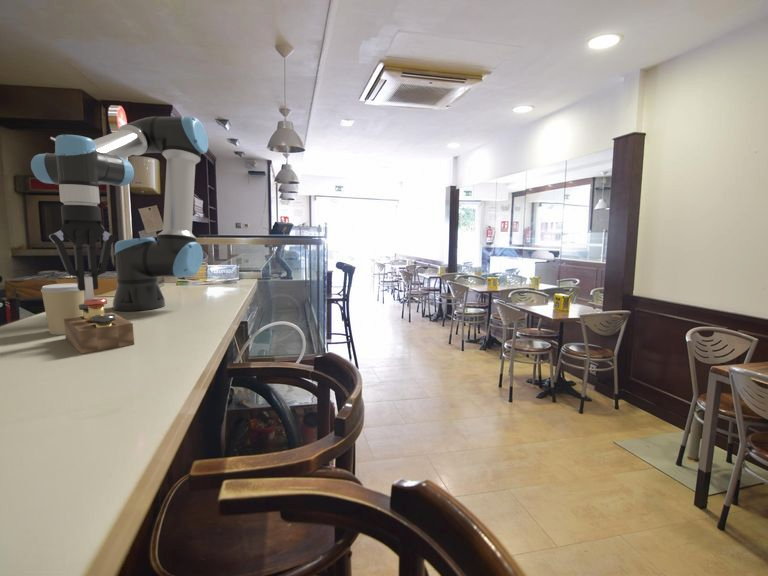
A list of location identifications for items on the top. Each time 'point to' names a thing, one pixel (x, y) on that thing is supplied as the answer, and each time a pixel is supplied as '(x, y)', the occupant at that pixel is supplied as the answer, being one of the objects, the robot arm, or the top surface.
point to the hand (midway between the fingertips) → (89, 303)
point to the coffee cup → (61, 305)
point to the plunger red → (95, 306)
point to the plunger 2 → (103, 320)
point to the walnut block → (98, 334)
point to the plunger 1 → (84, 310)
